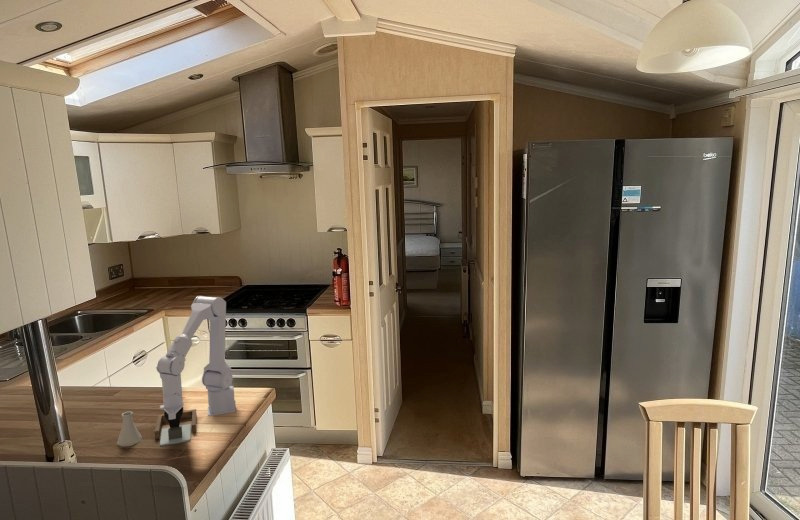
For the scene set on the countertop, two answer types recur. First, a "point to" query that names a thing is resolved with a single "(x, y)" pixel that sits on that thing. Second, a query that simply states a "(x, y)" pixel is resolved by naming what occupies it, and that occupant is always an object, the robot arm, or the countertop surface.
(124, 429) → the flask
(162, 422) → the box
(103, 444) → the countertop surface
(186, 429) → the cover plate
